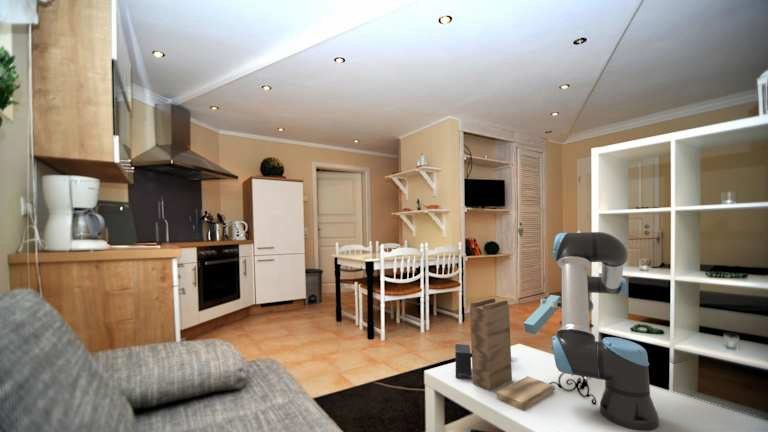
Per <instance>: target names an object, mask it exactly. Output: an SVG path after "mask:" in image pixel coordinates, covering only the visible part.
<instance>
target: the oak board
mask: <svg viewBox="0 0 768 432" xmlns="http://www.w3.org/2000/svg"><path fill="white" fill-rule="evenodd" d="M495 393H496V394H495V395H496V400H498V401H499V402H503V403H505V404H507V405H510V406H512V407H514V408H516V409H519V410H521V411H524V410H525V409H527V408H529V407H530V406H531V407H532V406H533V405H534V404H535V403H537V402H539V401H541V400H543V399H545V398H546V397H547V396H549V395H551V394H552V393H554V385H553V384H550V383H548V382H545V381H543V380H539V379H536V378H533V377H531V376H525V377H524V378H521V379H519V380H517V381H515V382H514V383H512V384H510V385H507V386H505V387H503V388H501V389H499V390H497V391H496V392H495Z"/></svg>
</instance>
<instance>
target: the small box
mask: <svg viewBox="0 0 768 432" xmlns="http://www.w3.org/2000/svg"><path fill="white" fill-rule="evenodd" d="M454 347H455V350H454V352H455V378H458V379H472V352H471V347H470V344H460V343H455V346H454Z"/></svg>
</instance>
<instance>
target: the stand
mask: <svg viewBox="0 0 768 432" xmlns="http://www.w3.org/2000/svg"><path fill="white" fill-rule="evenodd" d="M508 303H509V302H508V300H507V299H504V300H499V301H496V298H495V297H490V298H487V299H483V300H478V301H474V302H473V301H472V302H470V306H469V314H470V315H469V317H470V319H469V320H470V340H471V343H470V344H471V347H470V348H471V375H472V385H475V386H477V387H479V388H482V389H484V390H486V391H488V392H492V391H493V390H496V389H498V388H499V387H502V386H504V385H506V384H509V383H510V382H512V381H513V373H512V369H513V368H512V351H511V348H512V347H511V346H512V345H511V324H510V305H509V304H508Z"/></svg>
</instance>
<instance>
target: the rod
mask: <svg viewBox="0 0 768 432" xmlns="http://www.w3.org/2000/svg"><path fill="white" fill-rule="evenodd" d="M545 299H546V300H545V301H544V303H543V304H541V305H539V306H538V307H537V308H536V310H534V311H533V313H532V314H531V315H530V316H529V317H528V318H527V319H526V320H525V321H524V322H523V327H524V331H525V333H528V334H532V335H536V334H537V333H538V332H539V331H540V330H541V329H542V328H543V327H544V325H545V324H546V323H547V322H548V321H549V320H550V319H551V318H552V316H553V315H554V314H555V313H556V312H557V311H558V310H559V308H554V307H551V306H552V301H561V299H562V297H561V296H560V295H554V294H550V295H549V296H548V297H547V298H545Z"/></svg>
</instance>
